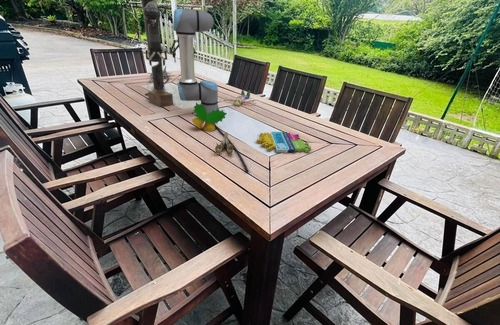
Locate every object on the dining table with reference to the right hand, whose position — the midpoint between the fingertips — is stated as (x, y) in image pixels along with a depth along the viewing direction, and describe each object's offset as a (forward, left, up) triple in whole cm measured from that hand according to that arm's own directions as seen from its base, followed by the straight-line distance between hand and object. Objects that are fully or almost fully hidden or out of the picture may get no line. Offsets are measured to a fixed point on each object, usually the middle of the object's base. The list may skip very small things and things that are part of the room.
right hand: (183, 62), depth 211 cm
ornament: (-75, -10, -28) cm, 81 cm away
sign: (-102, -49, -28) cm, 116 cm away
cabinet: (-19, +20, -28) cm, 39 cm away
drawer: (-15, +23, -27) cm, 38 cm away
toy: (-19, -45, -28) cm, 56 cm away
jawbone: (-108, -13, -28) cm, 112 cm away
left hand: (-22, +20, +1) cm, 29 cm away
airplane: (+67, +22, -28) cm, 76 cm away
